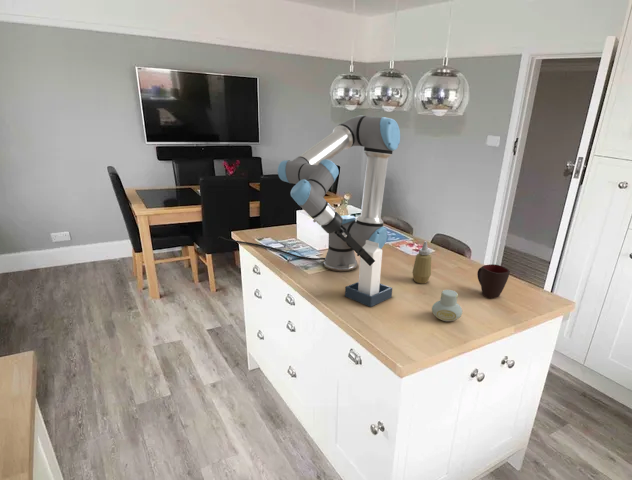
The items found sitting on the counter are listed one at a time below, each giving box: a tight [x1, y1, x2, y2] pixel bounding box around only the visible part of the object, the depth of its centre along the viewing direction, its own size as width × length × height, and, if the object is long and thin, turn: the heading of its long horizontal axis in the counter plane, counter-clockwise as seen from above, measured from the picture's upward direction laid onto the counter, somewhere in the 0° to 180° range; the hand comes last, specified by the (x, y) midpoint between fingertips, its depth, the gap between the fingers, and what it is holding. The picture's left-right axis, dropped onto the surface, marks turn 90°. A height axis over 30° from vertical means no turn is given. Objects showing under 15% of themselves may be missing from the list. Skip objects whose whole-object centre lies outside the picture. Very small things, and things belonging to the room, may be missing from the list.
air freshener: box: [431, 289, 463, 322], centre depth 150 cm, size 11×8×10 cm
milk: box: [358, 240, 383, 296], centre depth 159 cm, size 6×6×22 cm
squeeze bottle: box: [411, 241, 432, 284], centre depth 179 cm, size 8×8×18 cm
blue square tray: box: [344, 281, 393, 308], centre depth 163 cm, size 13×13×4 cm
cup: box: [476, 264, 511, 299], centre depth 173 cm, size 10×14×12 cm
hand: (365, 257), depth 156 cm, fingers open, 13 cm apart
